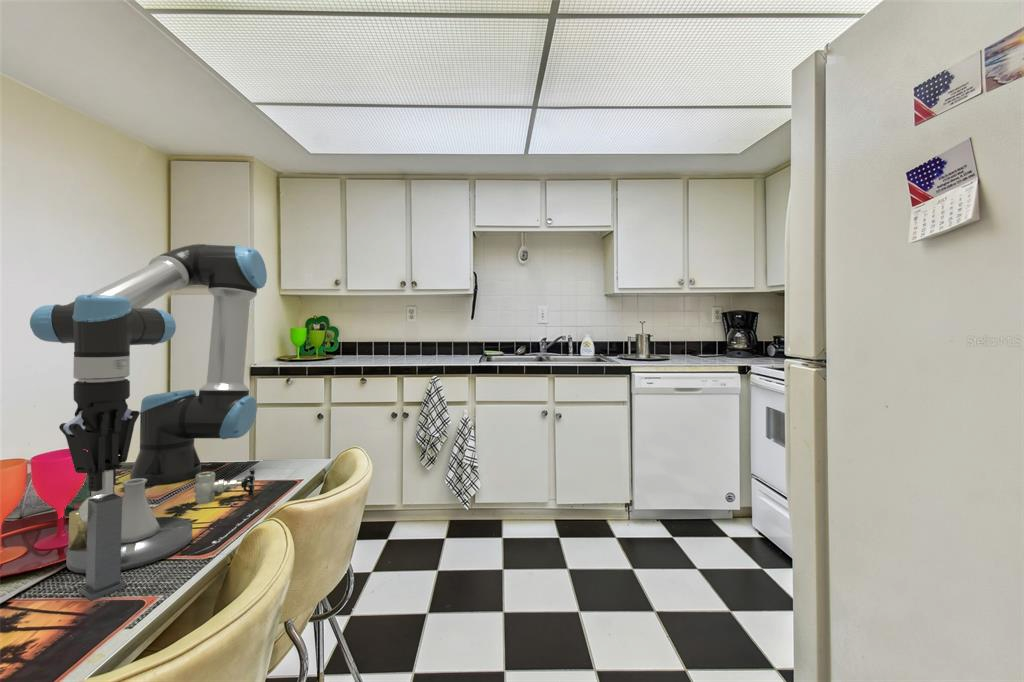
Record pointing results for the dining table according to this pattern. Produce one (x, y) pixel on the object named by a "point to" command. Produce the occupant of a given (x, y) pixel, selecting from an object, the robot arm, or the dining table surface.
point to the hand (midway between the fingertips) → (102, 505)
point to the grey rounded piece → (130, 543)
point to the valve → (219, 486)
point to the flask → (136, 513)
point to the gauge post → (102, 544)
